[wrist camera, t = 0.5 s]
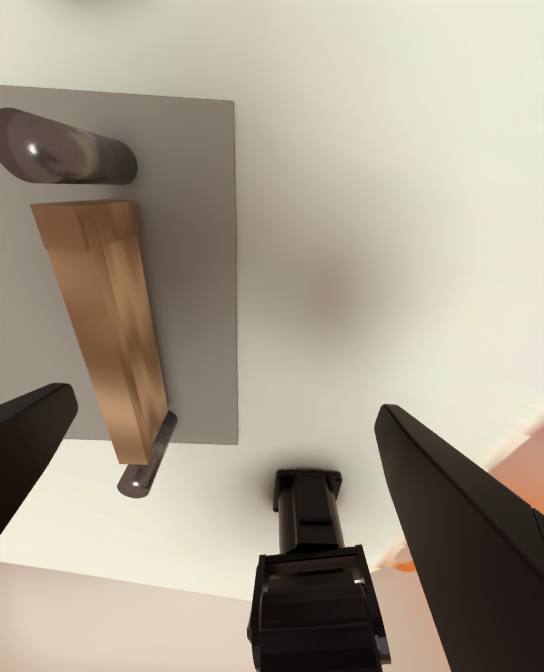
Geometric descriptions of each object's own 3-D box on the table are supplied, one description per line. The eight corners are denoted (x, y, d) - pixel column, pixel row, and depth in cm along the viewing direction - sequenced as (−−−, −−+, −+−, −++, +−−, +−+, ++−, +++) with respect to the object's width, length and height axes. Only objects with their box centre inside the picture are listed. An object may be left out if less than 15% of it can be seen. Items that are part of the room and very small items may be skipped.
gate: (172, 410, 22) (146, 467, 17) (149, 409, 21) (117, 466, 17) (136, 201, 14) (76, 206, 10) (102, 199, 14) (27, 203, 10)
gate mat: (237, 441, 25) (237, 445, 24) (-9, 432, 24) (-13, 436, 24) (233, 103, 13) (232, 101, 13) (-239, 71, 13) (-254, 67, 12)
